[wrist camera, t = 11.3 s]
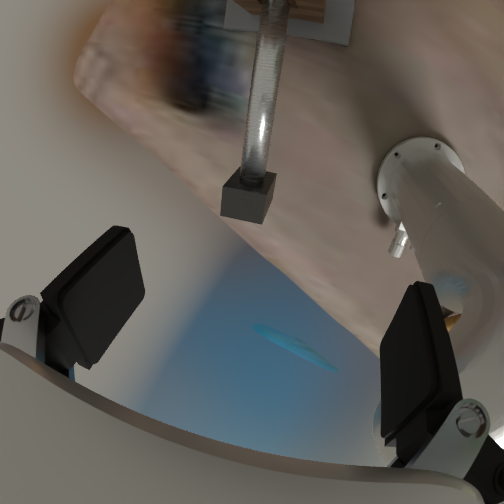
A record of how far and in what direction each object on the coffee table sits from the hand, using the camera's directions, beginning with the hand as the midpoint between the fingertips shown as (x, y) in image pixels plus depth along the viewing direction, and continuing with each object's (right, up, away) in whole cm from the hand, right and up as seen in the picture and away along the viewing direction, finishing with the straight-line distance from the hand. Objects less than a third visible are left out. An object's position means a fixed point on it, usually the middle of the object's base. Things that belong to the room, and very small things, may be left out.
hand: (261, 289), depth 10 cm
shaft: (+1, +16, +17) cm, 23 cm away
